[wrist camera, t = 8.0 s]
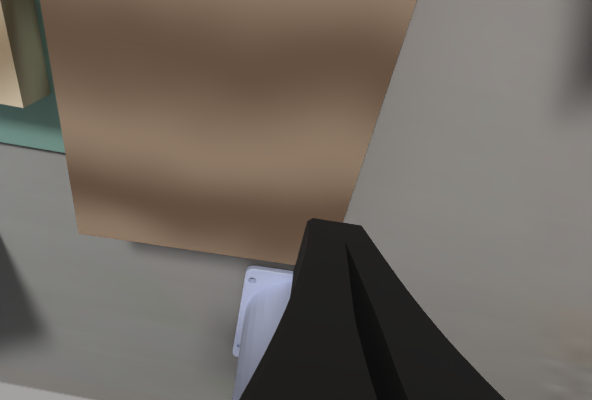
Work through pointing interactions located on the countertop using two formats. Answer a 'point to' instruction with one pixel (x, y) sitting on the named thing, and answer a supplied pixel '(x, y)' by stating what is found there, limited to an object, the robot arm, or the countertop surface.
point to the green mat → (34, 113)
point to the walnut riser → (218, 115)
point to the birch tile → (21, 55)
